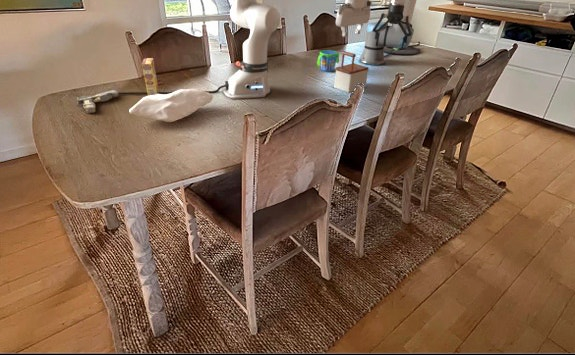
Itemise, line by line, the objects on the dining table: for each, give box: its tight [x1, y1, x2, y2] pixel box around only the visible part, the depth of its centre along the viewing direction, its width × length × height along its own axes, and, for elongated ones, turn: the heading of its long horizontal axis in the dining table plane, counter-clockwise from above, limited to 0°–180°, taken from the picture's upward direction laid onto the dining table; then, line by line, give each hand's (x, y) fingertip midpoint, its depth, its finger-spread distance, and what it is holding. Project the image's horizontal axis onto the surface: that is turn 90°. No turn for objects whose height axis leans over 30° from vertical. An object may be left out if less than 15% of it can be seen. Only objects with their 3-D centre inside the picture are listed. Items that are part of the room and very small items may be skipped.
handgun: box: [76, 89, 120, 114], centre depth 155 cm, size 3×18×15 cm
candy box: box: [141, 57, 160, 96], centre depth 163 cm, size 9×4×15 cm, turn 13°
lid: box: [334, 50, 369, 75], centre depth 179 cm, size 15×10×9 cm, turn 132°
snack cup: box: [316, 49, 340, 73], centre depth 207 cm, size 16×10×10 cm
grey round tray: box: [383, 46, 421, 55], centre depth 258 cm, size 35×35×9 cm
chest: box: [333, 69, 369, 93], centre depth 184 cm, size 14×10×9 cm
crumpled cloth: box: [129, 88, 214, 123], centre depth 147 cm, size 24×35×9 cm
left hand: (351, 35), depth 170 cm, fingers open, 8 cm apart
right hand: (389, 47), depth 195 cm, fingers open, 13 cm apart
